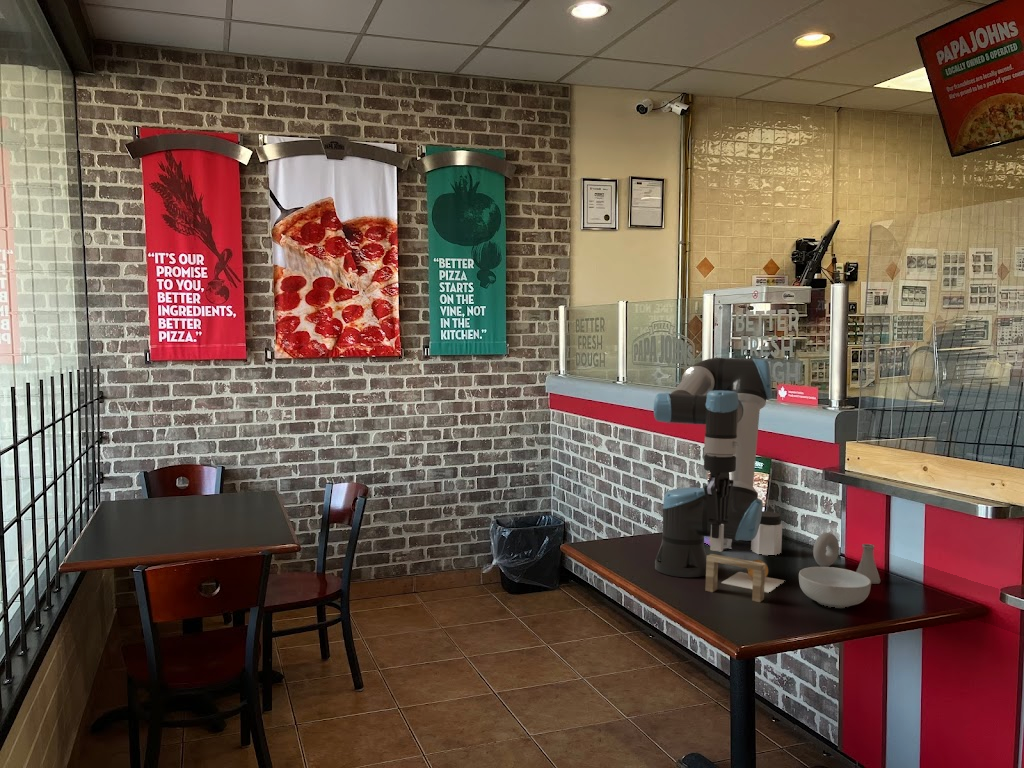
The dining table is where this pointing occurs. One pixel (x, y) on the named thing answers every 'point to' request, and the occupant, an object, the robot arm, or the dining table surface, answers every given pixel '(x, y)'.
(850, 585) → the cereal bowl
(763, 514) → the jar
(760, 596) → the bridge
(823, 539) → the donut
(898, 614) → the dining table surface
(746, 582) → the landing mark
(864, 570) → the flask
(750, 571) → the ball
